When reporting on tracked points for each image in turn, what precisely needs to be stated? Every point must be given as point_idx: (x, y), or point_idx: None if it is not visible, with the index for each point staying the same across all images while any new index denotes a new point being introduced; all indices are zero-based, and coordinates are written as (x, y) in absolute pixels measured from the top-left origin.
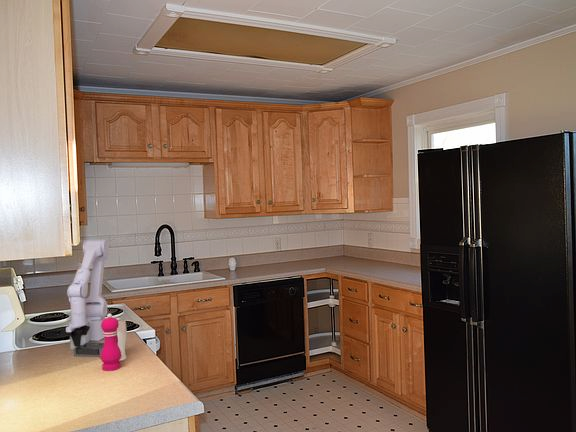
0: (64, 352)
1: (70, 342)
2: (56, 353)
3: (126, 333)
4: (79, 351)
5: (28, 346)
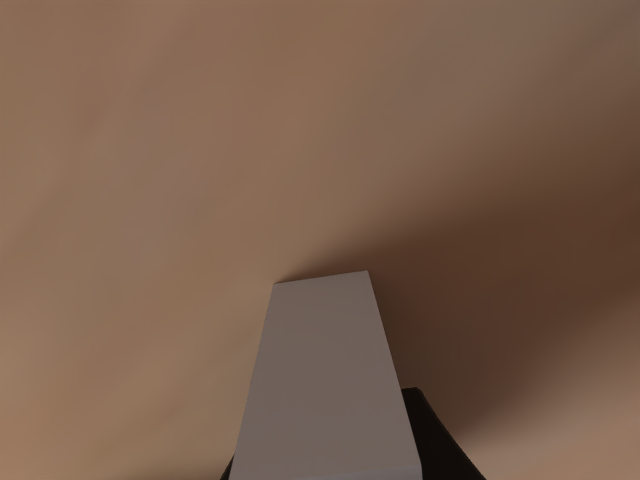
0: (110, 319)
1: (260, 360)
2: (11, 240)
3: None
4: None
5: None
